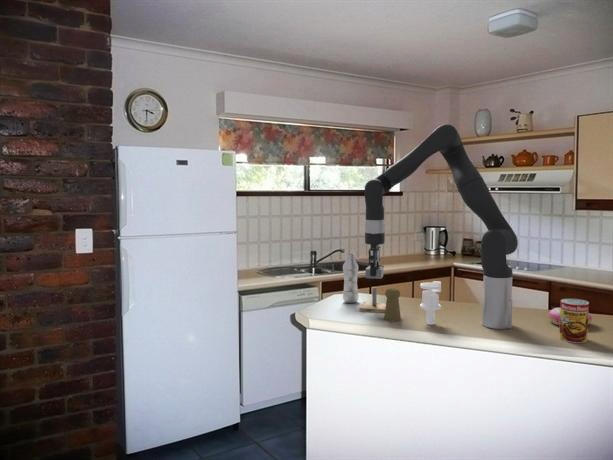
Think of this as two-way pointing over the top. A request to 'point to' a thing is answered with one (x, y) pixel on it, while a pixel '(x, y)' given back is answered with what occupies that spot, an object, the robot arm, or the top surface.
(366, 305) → the toggle switch
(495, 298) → the robot arm
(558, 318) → the donut
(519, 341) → the top surface
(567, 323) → the canned food
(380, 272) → the grey hollow square block
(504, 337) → the top surface
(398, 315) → the cork
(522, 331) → the top surface
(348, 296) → the plastic bottle
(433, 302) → the strainer
